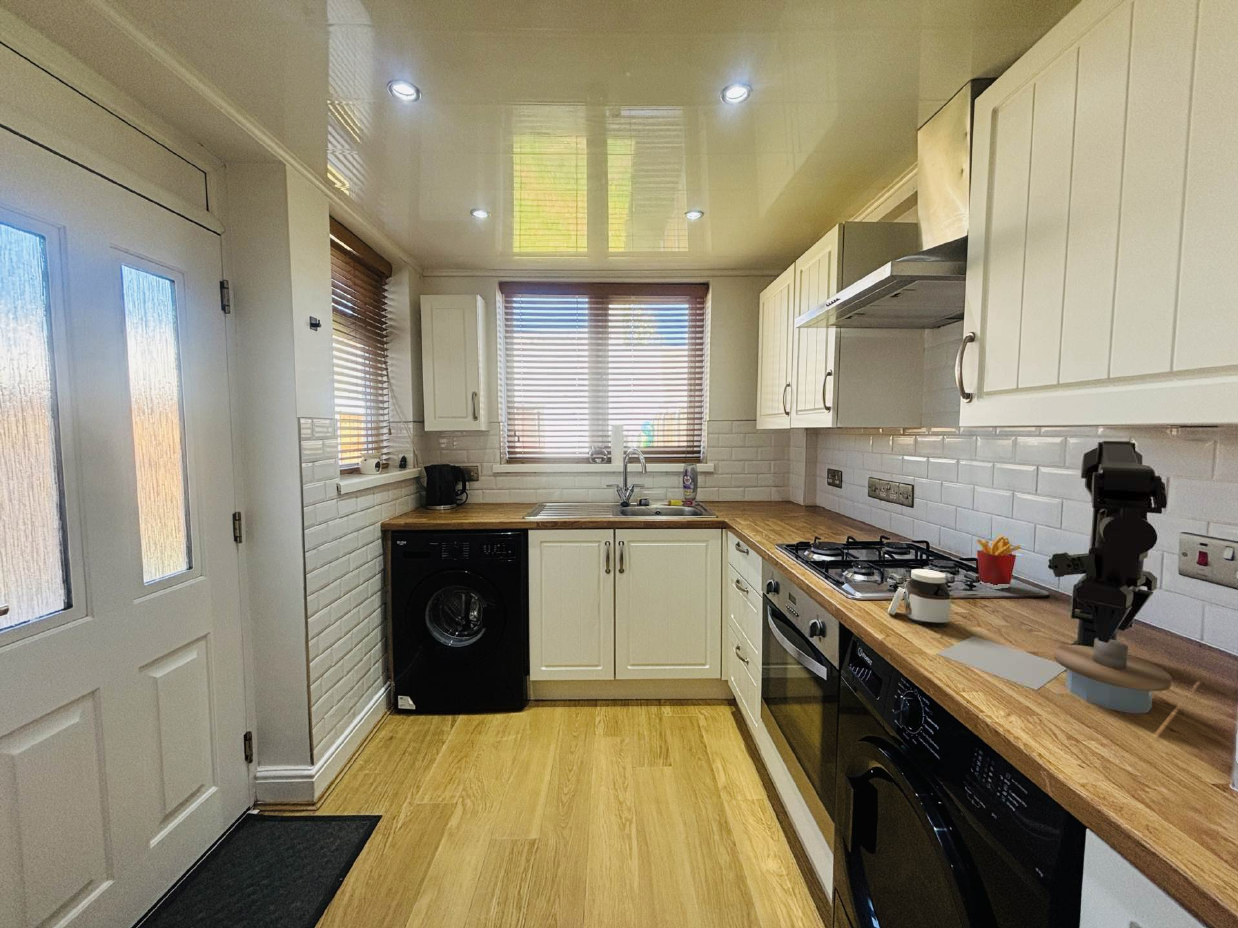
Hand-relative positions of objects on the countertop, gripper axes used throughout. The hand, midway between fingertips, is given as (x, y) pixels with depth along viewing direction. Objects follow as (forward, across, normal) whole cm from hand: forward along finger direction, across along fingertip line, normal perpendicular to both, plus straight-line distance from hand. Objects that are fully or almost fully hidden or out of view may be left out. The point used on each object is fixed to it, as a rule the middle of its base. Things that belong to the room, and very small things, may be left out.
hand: (1111, 635), depth 83 cm
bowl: (+11, 0, 0) cm, 11 cm away
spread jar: (+11, -8, -35) cm, 38 cm away
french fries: (+11, -54, -35) cm, 65 cm away
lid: (+6, 0, 0) cm, 6 cm away
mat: (+11, 0, -15) cm, 19 cm away
